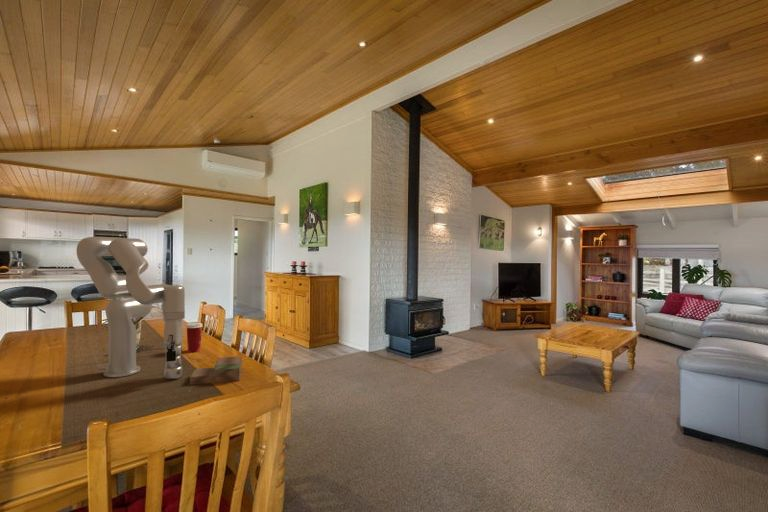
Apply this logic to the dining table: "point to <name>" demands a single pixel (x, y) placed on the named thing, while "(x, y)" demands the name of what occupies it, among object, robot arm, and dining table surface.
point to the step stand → (219, 371)
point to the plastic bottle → (174, 364)
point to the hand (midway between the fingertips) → (174, 357)
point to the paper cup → (194, 336)
